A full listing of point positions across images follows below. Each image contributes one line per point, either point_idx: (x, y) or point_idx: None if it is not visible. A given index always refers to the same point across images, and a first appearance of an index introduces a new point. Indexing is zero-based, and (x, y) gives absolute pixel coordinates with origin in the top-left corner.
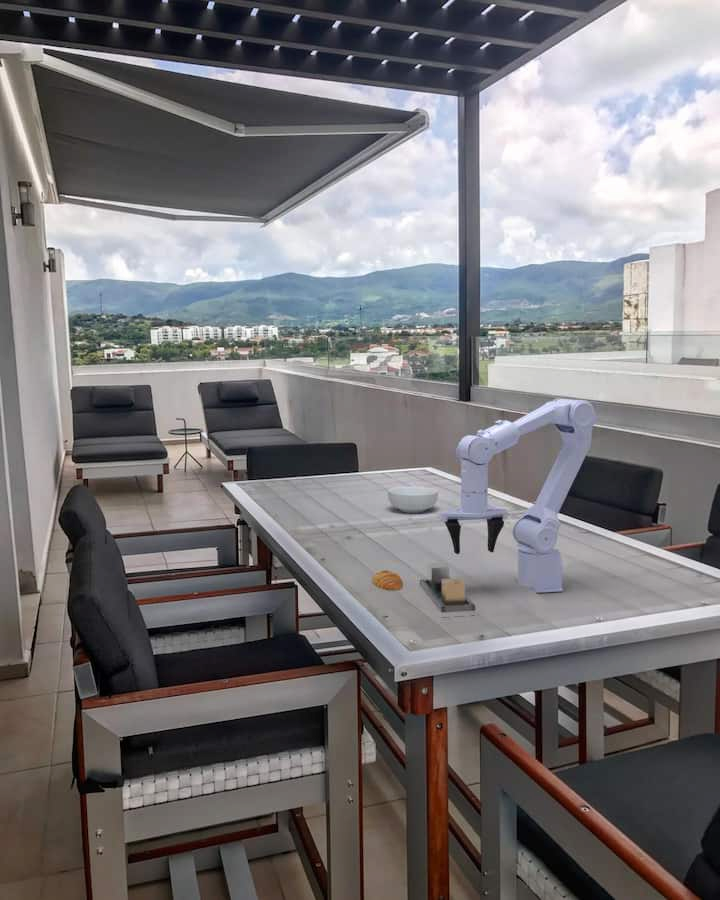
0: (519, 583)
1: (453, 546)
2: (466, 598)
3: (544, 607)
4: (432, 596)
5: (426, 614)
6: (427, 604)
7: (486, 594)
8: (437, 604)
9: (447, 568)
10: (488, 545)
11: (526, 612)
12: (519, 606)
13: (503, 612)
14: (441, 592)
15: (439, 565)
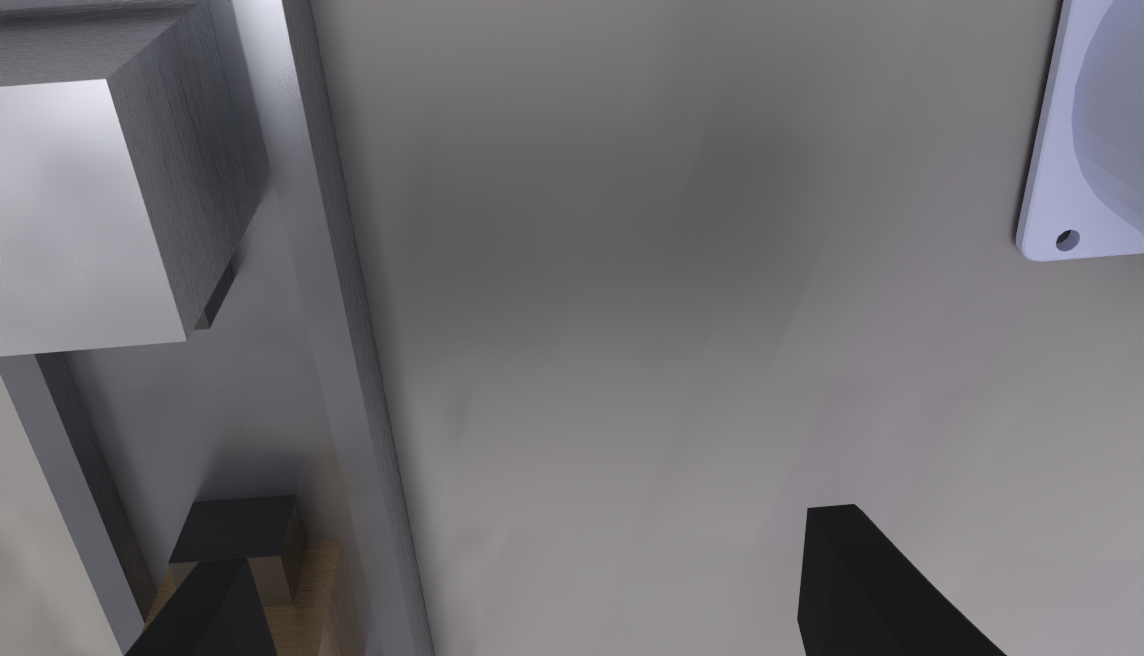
0: (1095, 123)
1: (149, 631)
2: (386, 610)
3: (996, 547)
4: (73, 529)
5: (70, 630)
6: None
7: (663, 213)
8: None
9: (165, 332)
10: (834, 596)
11: None
12: None
13: (657, 618)
14: None
15: (26, 242)
